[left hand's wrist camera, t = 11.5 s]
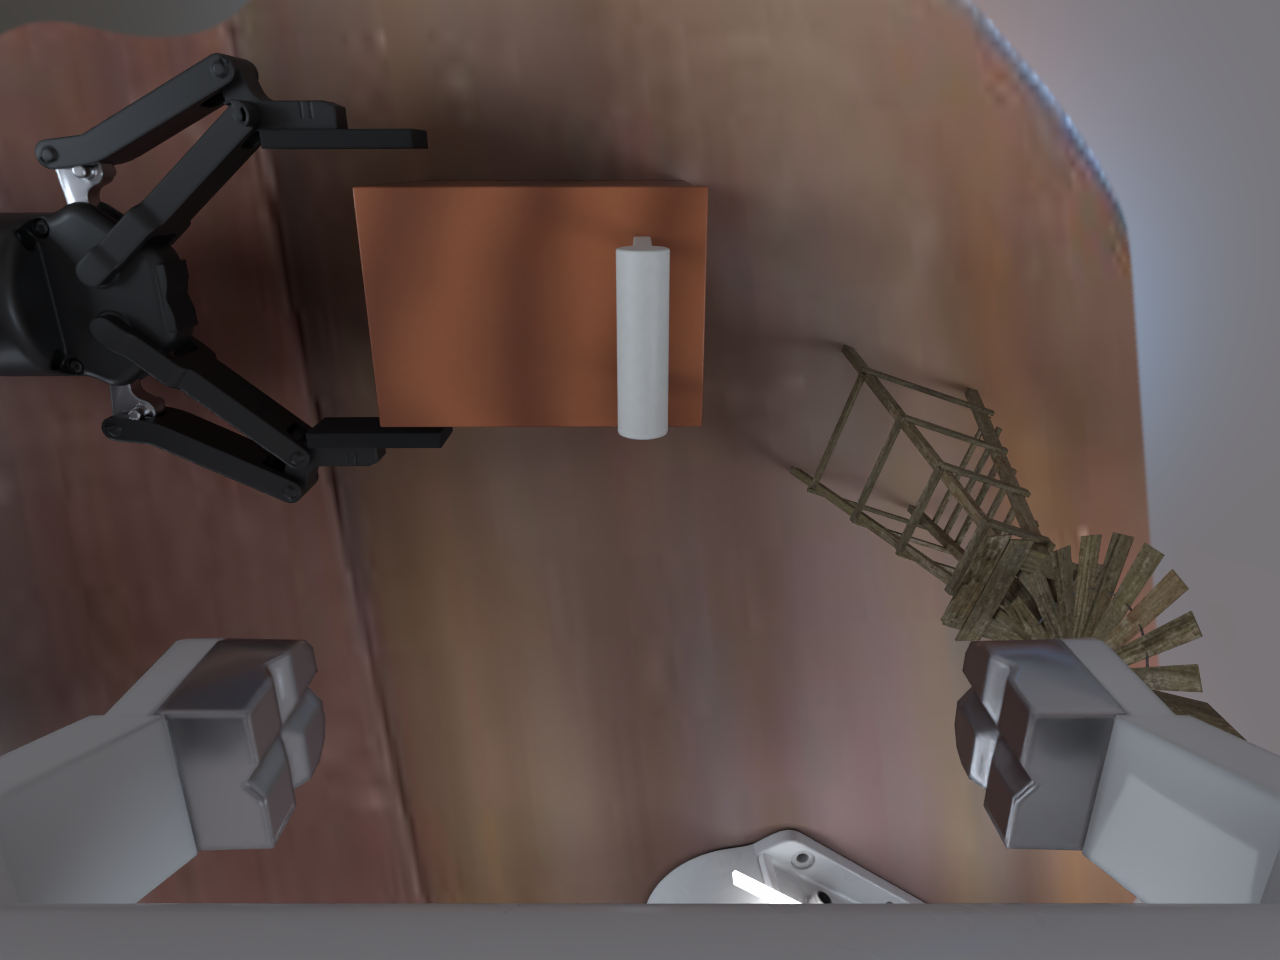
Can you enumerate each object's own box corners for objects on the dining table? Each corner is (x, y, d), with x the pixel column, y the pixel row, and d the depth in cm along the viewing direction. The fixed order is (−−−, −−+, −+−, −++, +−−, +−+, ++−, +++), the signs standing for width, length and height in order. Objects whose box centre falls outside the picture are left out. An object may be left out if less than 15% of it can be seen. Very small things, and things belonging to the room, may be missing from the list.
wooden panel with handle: (706, 185, 35) (726, 193, 27) (700, 418, 39) (716, 486, 31) (361, 186, 35) (279, 194, 27) (387, 419, 39) (322, 487, 31)
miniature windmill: (847, 335, 47) (1152, 597, 19) (982, 382, 48) (1463, 697, 20) (785, 479, 50) (970, 886, 22) (914, 520, 51) (1247, 960, 23)
